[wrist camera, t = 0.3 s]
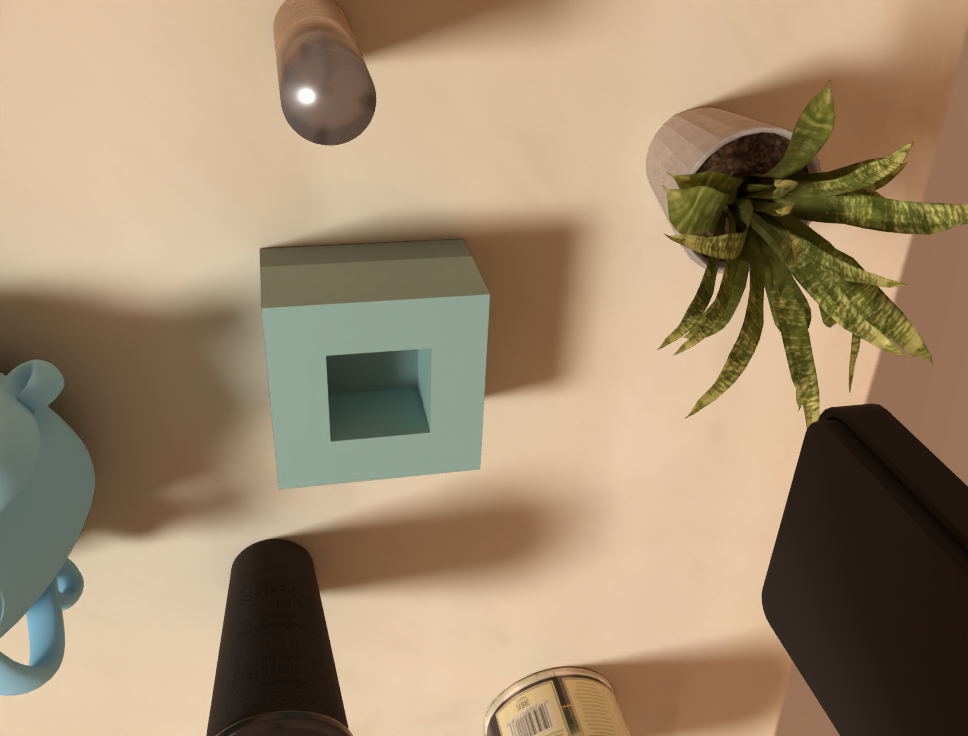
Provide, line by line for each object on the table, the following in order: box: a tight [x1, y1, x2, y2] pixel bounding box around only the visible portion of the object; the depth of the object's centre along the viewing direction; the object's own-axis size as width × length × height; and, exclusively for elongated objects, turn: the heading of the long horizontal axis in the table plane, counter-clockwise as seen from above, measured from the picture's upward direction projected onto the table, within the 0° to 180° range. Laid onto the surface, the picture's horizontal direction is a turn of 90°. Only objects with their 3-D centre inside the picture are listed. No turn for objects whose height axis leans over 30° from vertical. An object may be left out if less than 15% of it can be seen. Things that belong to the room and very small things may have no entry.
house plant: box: [646, 80, 968, 429], centre depth 39 cm, size 14×14×16 cm
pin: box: [274, 0, 376, 145], centre depth 35 cm, size 3×3×10 cm
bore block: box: [260, 239, 490, 490], centre depth 45 cm, size 10×10×6 cm
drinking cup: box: [206, 540, 353, 736], centre depth 47 cm, size 8×8×20 cm
